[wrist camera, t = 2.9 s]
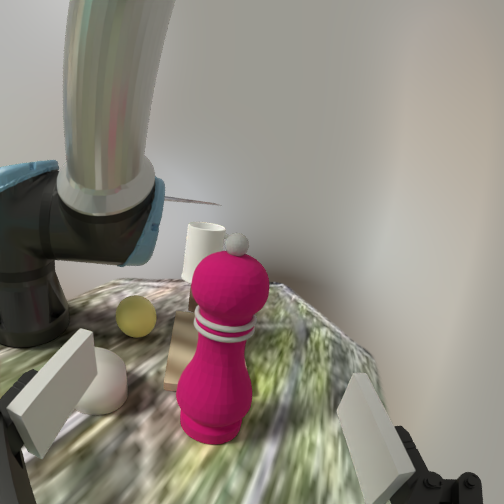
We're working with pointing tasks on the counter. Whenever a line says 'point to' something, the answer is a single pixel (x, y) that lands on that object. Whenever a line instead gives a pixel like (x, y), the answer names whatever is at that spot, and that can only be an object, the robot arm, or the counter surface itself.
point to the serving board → (180, 348)
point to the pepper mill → (221, 342)
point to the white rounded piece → (105, 385)
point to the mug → (201, 245)
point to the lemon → (136, 316)
